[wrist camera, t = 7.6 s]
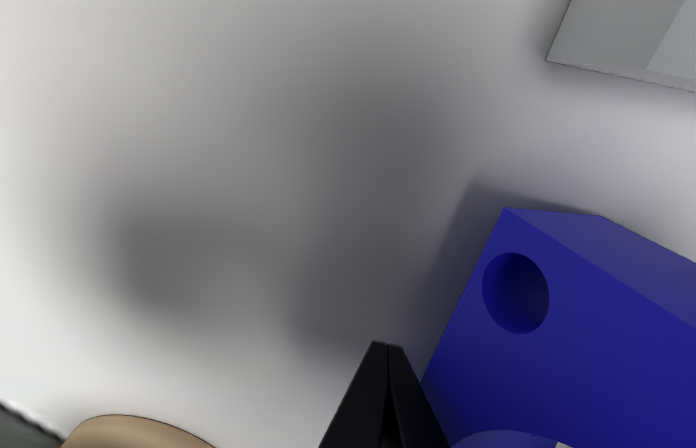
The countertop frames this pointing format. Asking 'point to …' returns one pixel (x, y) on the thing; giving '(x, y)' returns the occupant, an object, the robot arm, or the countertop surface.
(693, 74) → the gray u-shaped bracket
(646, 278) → the cable clip
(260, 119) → the countertop surface
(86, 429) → the bobbin
